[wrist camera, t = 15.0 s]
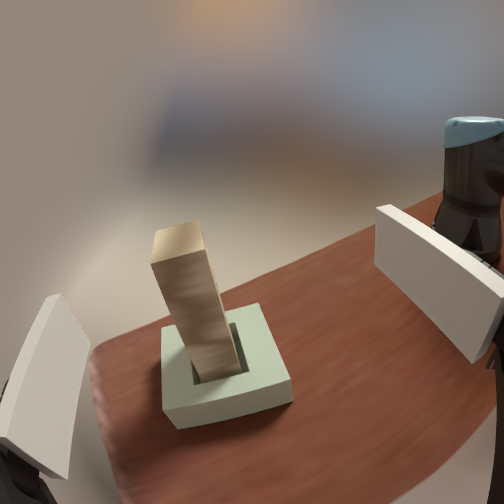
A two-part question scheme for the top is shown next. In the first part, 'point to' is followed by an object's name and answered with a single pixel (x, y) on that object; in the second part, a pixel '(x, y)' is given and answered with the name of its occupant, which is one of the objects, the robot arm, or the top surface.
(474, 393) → the top surface
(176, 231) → the wooden block
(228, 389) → the end cap
